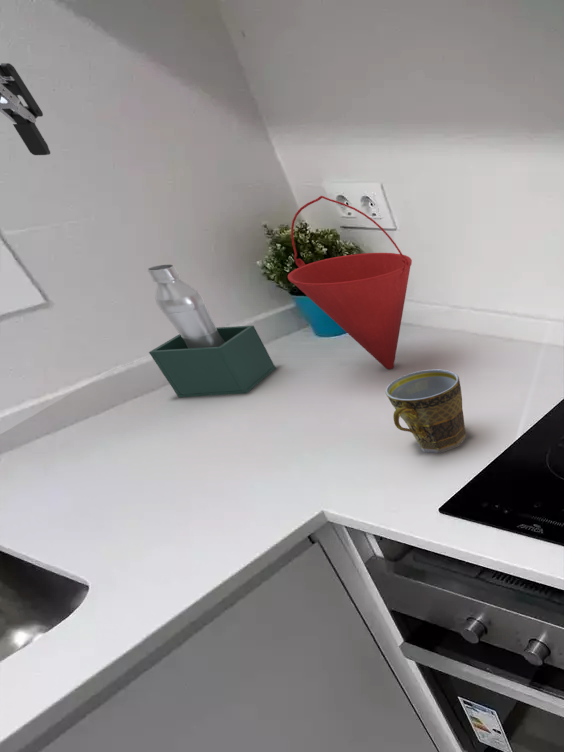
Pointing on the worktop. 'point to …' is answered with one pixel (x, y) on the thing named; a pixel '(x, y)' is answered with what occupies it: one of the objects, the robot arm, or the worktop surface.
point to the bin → (215, 364)
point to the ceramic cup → (429, 408)
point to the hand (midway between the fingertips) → (17, 158)
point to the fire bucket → (359, 293)
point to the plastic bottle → (184, 308)
